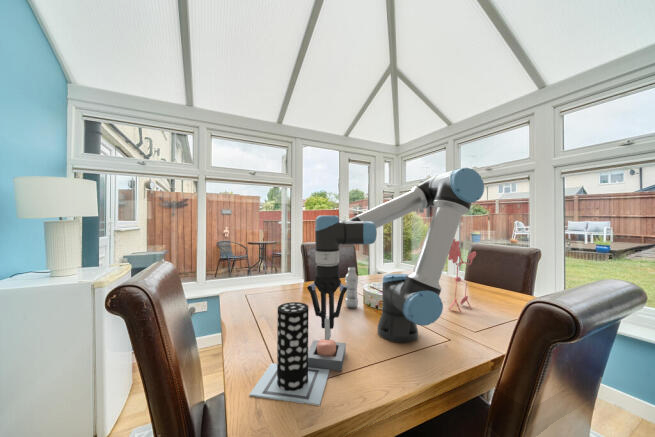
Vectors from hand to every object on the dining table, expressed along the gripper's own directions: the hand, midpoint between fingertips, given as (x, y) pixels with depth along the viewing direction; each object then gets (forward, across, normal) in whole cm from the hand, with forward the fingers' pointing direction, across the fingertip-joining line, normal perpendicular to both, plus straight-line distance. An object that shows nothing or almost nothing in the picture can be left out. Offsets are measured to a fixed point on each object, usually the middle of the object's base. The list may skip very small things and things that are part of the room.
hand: (327, 338), depth 81 cm
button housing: (+7, 0, 0) cm, 7 cm away
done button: (+6, 0, 0) cm, 6 cm away
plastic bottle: (+7, +4, +49) cm, 49 cm away
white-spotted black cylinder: (+6, -7, -13) cm, 16 cm away
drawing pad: (+7, -8, -13) cm, 17 cm away
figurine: (+8, +54, +60) cm, 81 cm away
